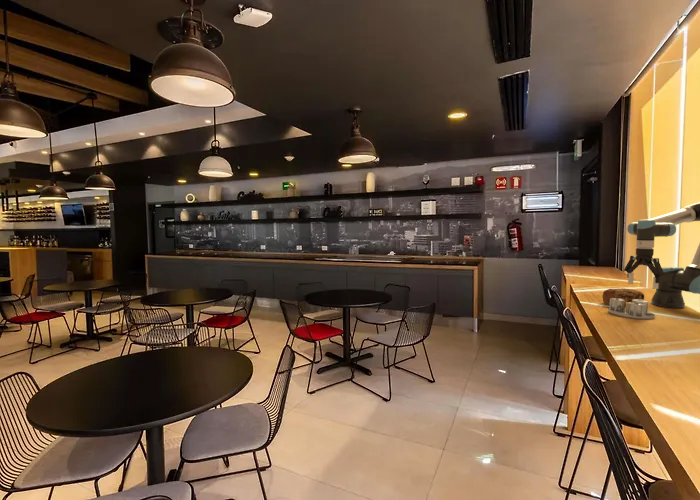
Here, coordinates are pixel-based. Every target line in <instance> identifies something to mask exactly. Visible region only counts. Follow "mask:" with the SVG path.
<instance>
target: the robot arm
mask: <svg viewBox="0 0 700 500" xmlns="http://www.w3.org/2000/svg"><path fill="white" fill-rule="evenodd" d="M693 222H700V201H699V202H696V203H692V204H689V205H687V206H683V207H681V208H680V209H679V210H675V211H673V212H672V211H671V212H668V213H666V214H663V215H660V216H656V217H653V218H650V219H639V220H638V221H634V222H631V223H629V224H628V225H627V228H626V229H627V232H628V234H630V235H633V236H636V241H635V242H636V244H635V247H636V248H635V255H630V256H629V261H627V264H626V265H625V267H624V268H623V271H624V272H626V273H627V275H626V276H627V277H626V278H627V279H628V280H627V284H628V285H634V274H635V273H634V271H635V270H636V269H638V267H639V266H640V265H641V266H645V267H648V269H649V270H650V272H651V273H652V274H653V278H652V279H653V280H652V290H655V292H654V294H653V295H652V298H651V299H650V300H651V301H650V303H651V305H653V306H657V307H663V308H672V309H683V308H685V307H686V305H685V304H686V303H685V300H684V297H683V293H682V292H685V293H686V292H687V293H691V294H695V295H696V294H697V295H700V243H699V244H698V246H697V249H696V251H695V253H694V256H693V259H692V260H691V263H690V264H688V265H686V266H685V267H679V266H677V267H672V266H671V267H670V266H669V267H668V266H667V267H662V266H661V263H660V258H659V257H654V252H655V251H654V250H655V249H654V248H655V237H656V238H657V237H659V238H661V237H666V238H667V237H673V236H674V235H675V234H676V232H677V225H680V224H683V223H693ZM653 257H654V258H653ZM684 268H685V269H684Z"/></svg>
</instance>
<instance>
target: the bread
mask: <svg viewBox="0 0 700 500" xmlns="http://www.w3.org/2000/svg"><path fill="white" fill-rule="evenodd" d="M611 298H620V299H623V300H625V308H626V302H632V300H635V299H638V300H645V294H644V293H643V292H642V291H639V290H637V289H633V288H632V289H631V288H624V287H623V288H621V287H620V288H609V289H606V290H604V291H603V292H602V302H603V303H604V304H605V305H608V306H610V299H611Z"/></svg>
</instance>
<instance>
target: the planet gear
mask: <svg viewBox="0 0 700 500" xmlns="http://www.w3.org/2000/svg"><path fill="white" fill-rule="evenodd" d="M632 303H640V304H644V305H645V311H644V313H648V312H649V311H648V310H649V301H648V300H645V299H644V300H638V299H635V300H632Z"/></svg>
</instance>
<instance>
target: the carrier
mask: <svg viewBox="0 0 700 500" xmlns="http://www.w3.org/2000/svg"><path fill="white" fill-rule="evenodd" d="M608 306H609V308H608V313H609V314H611V315H614V316H616V317H622V318H626V319H632V320H653V319H655V314H654V313H652V312H650V311H648V313H644V311H645V305H644V304H640V303H632V302H626V307H625V300H623V299H620V298H611V299H610V305H608Z"/></svg>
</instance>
